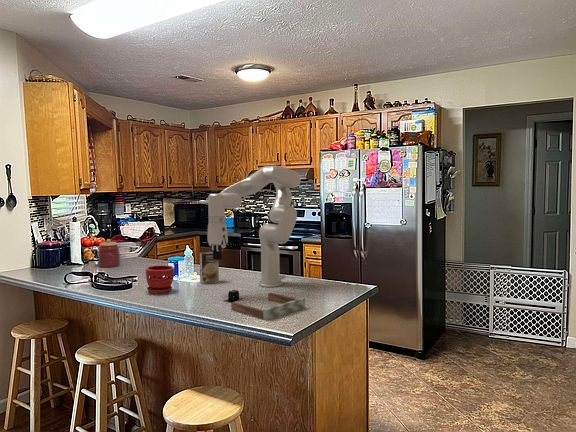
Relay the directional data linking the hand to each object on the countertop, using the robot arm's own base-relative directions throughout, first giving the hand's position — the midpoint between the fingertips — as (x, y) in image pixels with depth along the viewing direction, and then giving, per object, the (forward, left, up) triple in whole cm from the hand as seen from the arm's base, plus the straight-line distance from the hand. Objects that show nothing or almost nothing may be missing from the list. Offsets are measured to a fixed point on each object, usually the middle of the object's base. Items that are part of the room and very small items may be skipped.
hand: (217, 259), depth 202 cm
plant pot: (+14, -27, -17) cm, 35 cm away
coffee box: (-14, -25, -17) cm, 33 cm away
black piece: (0, +12, -18) cm, 21 cm away
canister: (0, -112, -17) cm, 113 cm away
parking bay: (0, +33, -17) cm, 37 cm away
